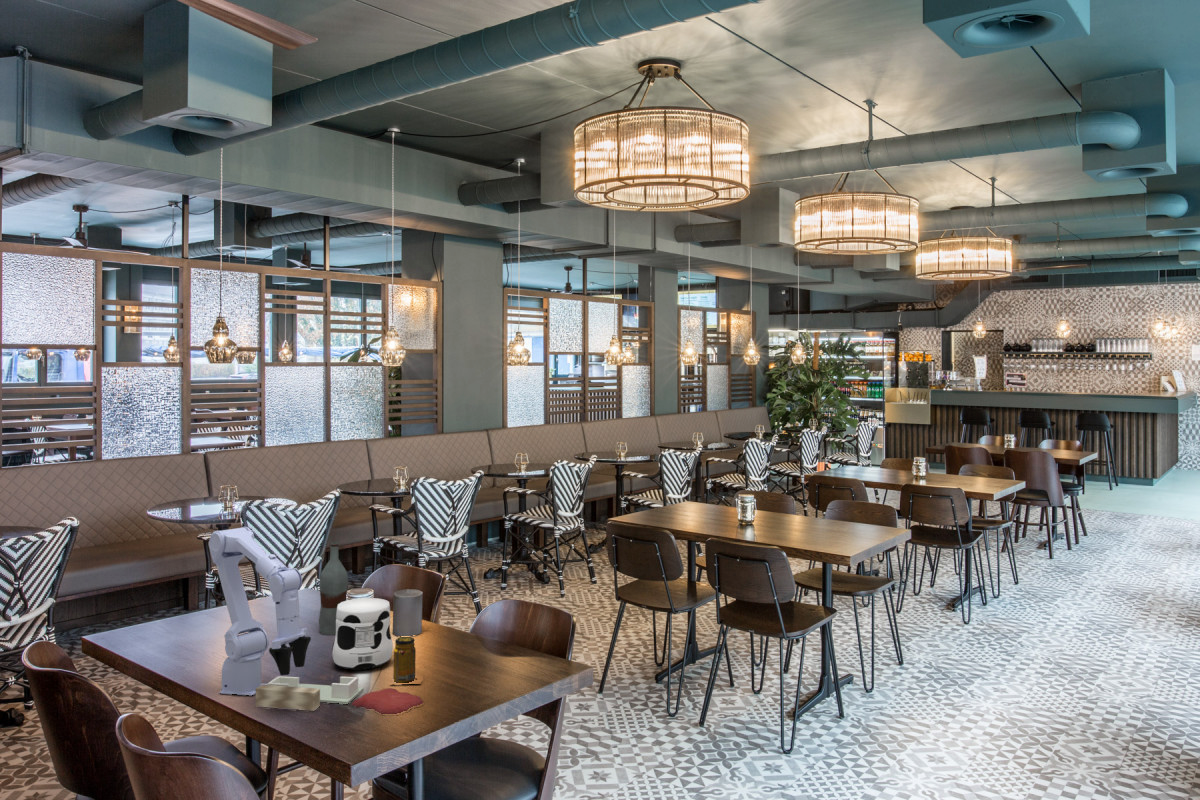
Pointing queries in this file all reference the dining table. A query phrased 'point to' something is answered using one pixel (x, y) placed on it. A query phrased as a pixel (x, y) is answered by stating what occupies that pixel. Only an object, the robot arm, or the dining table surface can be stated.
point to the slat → (288, 697)
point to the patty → (388, 701)
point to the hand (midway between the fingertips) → (292, 670)
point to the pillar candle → (407, 612)
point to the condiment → (404, 660)
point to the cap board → (326, 694)
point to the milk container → (362, 634)
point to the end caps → (339, 690)
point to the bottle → (332, 591)
